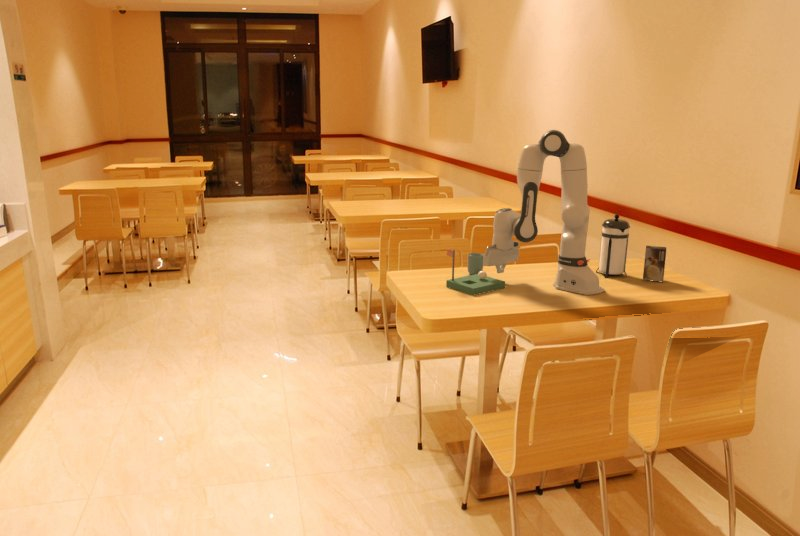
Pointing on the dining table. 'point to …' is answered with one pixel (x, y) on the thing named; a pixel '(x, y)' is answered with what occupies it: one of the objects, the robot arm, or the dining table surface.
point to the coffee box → (654, 263)
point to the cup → (475, 263)
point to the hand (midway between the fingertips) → (500, 272)
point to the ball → (482, 275)
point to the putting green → (472, 281)
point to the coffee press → (614, 246)
